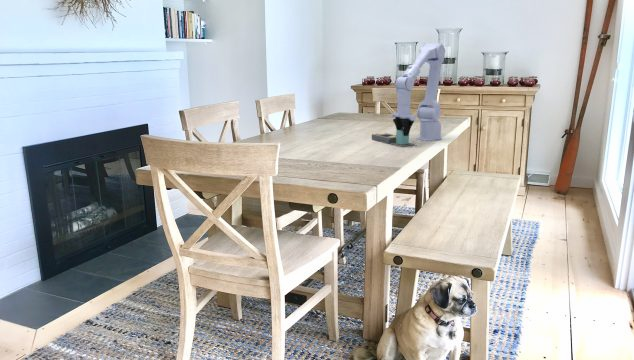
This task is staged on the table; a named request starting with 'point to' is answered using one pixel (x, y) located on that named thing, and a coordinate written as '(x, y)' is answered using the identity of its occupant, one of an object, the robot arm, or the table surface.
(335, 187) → the table surface
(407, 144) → the mat
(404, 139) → the plug
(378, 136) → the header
